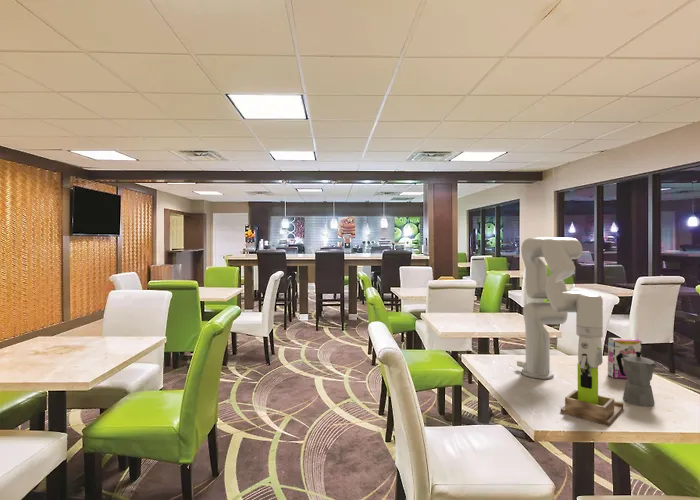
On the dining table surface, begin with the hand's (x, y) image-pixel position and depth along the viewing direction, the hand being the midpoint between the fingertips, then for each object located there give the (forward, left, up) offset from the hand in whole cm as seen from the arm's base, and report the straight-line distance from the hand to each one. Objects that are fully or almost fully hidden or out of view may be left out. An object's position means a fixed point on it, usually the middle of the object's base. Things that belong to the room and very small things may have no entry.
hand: (589, 384), depth 131 cm
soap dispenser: (0, 0, -7) cm, 7 cm away
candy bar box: (-1, +52, -10) cm, 53 cm away
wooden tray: (0, +3, -10) cm, 10 cm away
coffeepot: (+8, +25, -10) cm, 28 cm away
